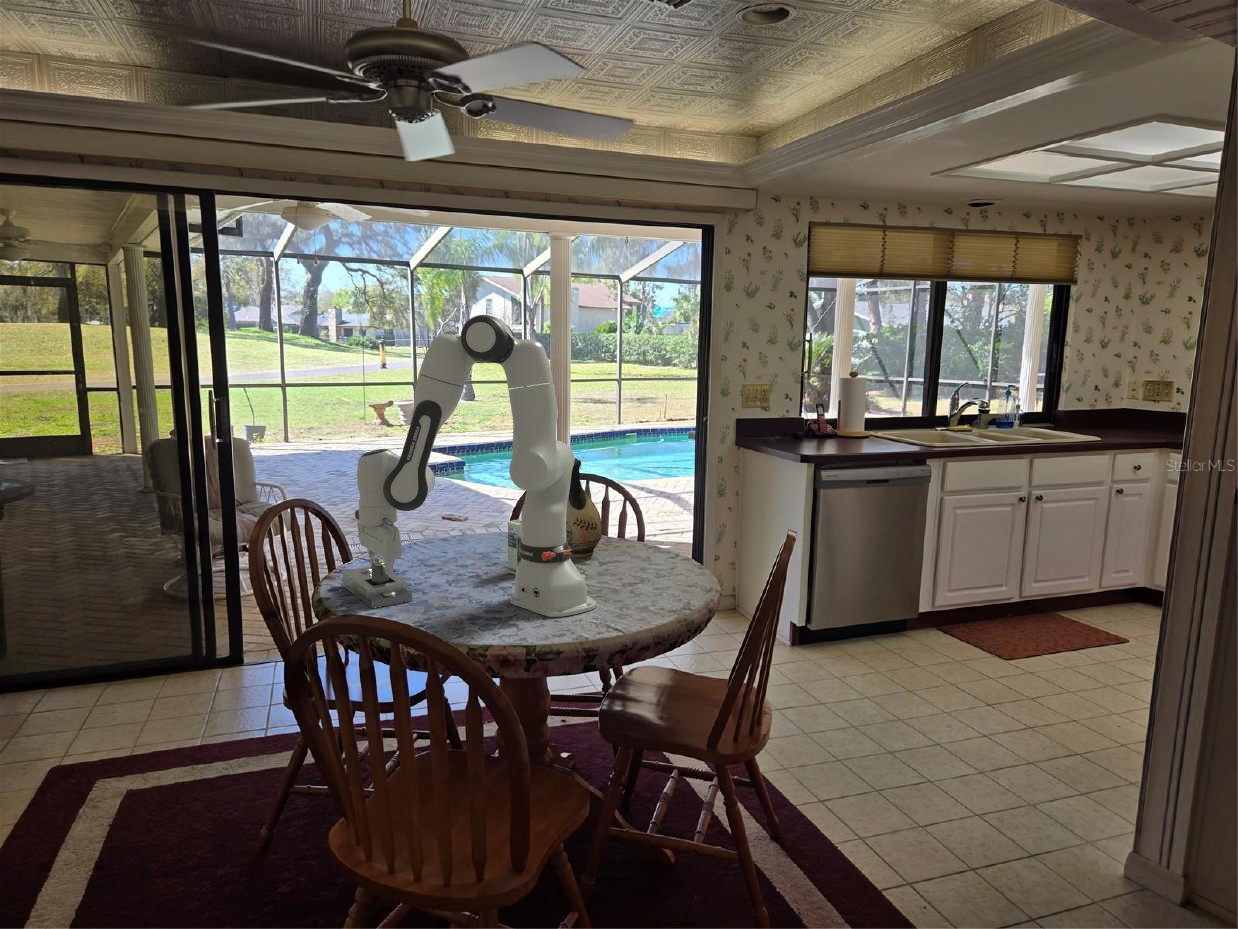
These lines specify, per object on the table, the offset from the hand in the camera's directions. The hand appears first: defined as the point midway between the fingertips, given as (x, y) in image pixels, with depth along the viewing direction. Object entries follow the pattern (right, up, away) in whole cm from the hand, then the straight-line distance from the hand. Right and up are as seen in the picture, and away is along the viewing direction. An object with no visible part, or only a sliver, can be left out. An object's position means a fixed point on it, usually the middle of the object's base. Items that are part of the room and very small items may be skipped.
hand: (381, 570), depth 191 cm
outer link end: (-3, -6, +5) cm, 9 cm away
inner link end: (0, -7, 0) cm, 7 cm away
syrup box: (+32, -4, +23) cm, 39 cm away
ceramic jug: (+46, -1, +42) cm, 62 cm away
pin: (-1, -7, +1) cm, 7 cm away
